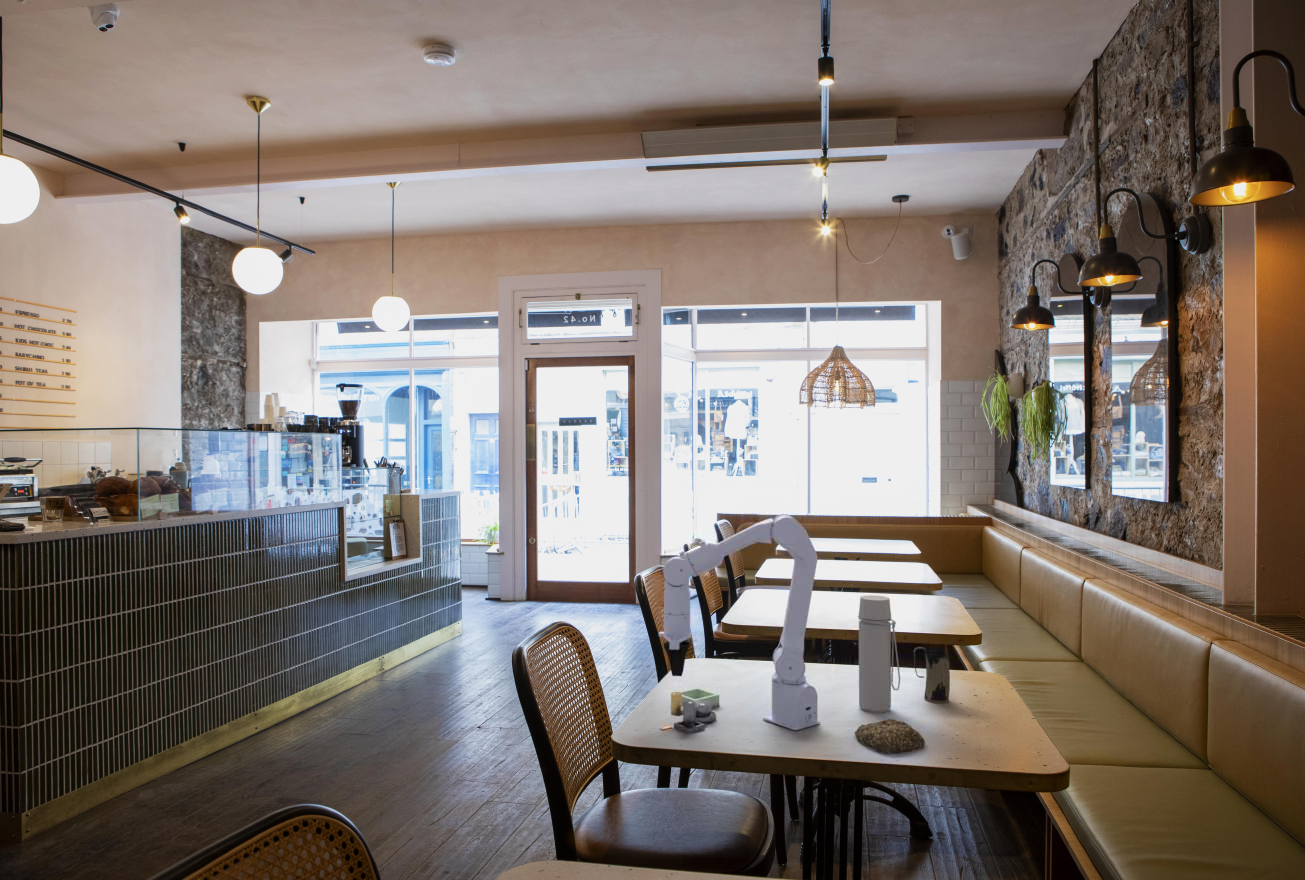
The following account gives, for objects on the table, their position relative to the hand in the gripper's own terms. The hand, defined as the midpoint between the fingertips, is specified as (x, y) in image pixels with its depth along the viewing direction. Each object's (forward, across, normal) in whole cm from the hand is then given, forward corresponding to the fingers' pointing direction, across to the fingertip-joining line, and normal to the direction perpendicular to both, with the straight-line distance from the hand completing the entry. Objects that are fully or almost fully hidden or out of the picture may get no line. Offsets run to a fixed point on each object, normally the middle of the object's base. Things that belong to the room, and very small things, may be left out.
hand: (677, 675), depth 184 cm
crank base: (+9, +3, +3) cm, 10 cm away
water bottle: (+10, -11, +44) cm, 47 cm away
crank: (+8, +2, +3) cm, 9 cm away
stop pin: (+9, +7, +3) cm, 12 cm away
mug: (+10, -20, +58) cm, 62 cm away
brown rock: (+10, +10, +44) cm, 46 cm away
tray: (+9, -10, +4) cm, 14 cm away
